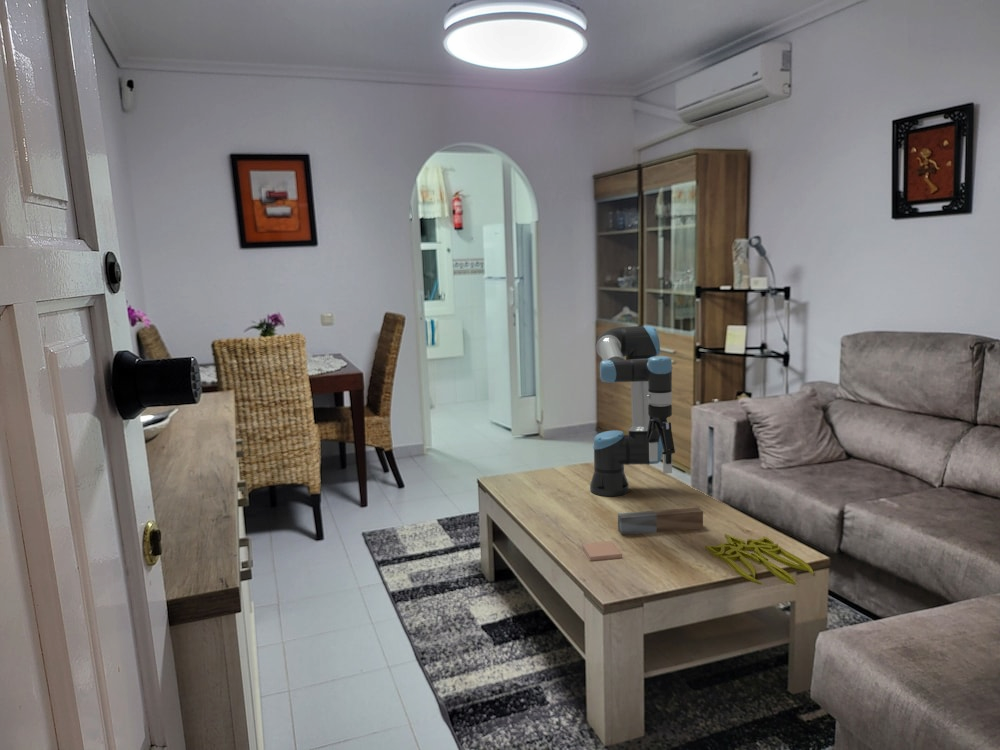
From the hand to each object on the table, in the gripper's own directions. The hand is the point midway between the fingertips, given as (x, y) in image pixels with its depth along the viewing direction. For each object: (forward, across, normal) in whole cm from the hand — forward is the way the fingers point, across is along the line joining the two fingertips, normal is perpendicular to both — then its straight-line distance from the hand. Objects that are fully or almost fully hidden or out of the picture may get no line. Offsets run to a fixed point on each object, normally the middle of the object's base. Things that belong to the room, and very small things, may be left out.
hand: (660, 466), depth 223 cm
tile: (+21, +14, -19) cm, 32 cm away
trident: (+22, +28, +20) cm, 41 cm away
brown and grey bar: (+22, 0, 0) cm, 22 cm away
